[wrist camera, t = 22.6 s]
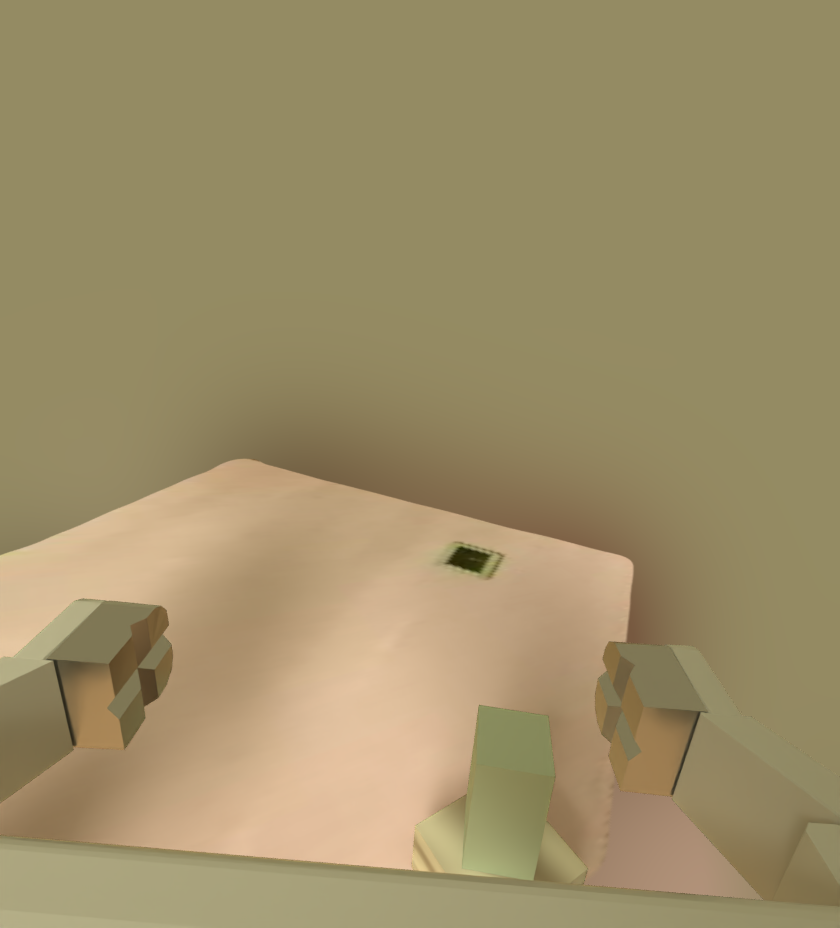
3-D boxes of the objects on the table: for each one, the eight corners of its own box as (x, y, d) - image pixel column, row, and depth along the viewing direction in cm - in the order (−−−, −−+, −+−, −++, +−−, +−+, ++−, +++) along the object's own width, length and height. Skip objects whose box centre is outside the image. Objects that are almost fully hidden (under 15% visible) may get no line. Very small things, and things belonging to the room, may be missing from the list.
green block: (461, 868, 38) (476, 763, 34) (465, 802, 43) (478, 705, 39) (533, 881, 37) (555, 777, 34) (529, 813, 42) (548, 715, 39)
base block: (484, 992, 35) (492, 946, 34) (411, 869, 42) (415, 825, 41) (576, 912, 40) (588, 868, 39) (497, 812, 47) (504, 771, 45)
